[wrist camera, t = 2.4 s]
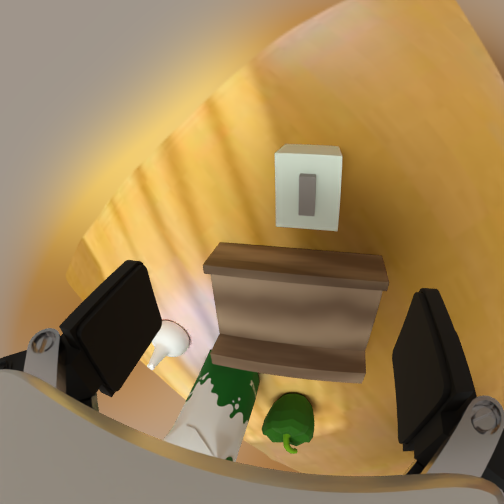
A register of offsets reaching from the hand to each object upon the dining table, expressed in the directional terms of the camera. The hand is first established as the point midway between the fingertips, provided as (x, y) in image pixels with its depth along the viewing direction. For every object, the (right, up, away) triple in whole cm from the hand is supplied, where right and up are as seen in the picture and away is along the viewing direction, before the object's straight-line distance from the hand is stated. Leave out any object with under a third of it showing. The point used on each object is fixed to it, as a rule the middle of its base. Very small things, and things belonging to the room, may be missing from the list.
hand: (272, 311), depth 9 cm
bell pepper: (+7, -24, +35) cm, 43 cm away
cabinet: (+5, +9, +17) cm, 20 cm away
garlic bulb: (-13, -11, +34) cm, 38 cm away
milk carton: (-3, -16, +34) cm, 37 cm away
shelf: (+5, -3, +24) cm, 25 cm away
